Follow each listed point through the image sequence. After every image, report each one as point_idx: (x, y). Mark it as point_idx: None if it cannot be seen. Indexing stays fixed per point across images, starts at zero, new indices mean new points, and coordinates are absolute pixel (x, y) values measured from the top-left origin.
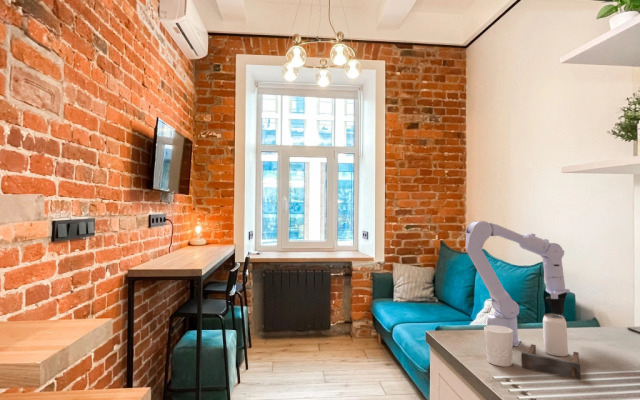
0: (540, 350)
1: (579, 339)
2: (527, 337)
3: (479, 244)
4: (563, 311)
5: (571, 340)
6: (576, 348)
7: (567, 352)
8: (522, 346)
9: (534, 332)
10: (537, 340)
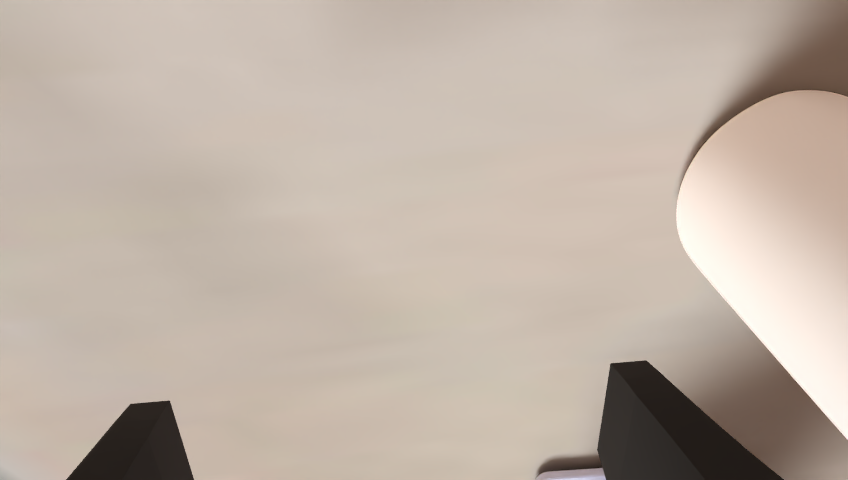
0: None
1: (5, 34)
2: (374, 452)
3: None
4: (157, 425)
5: (143, 113)
6: (464, 32)
7: (844, 96)
8: None
9: None
10: (417, 377)
